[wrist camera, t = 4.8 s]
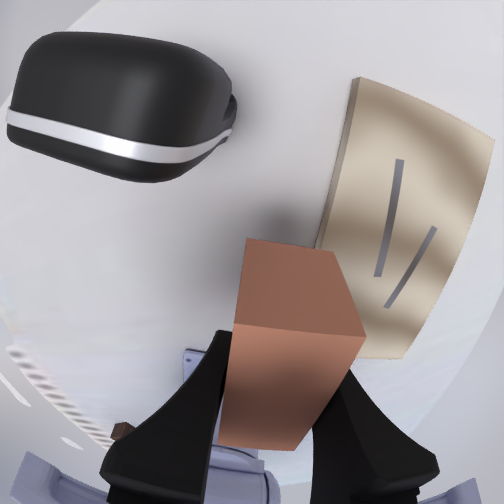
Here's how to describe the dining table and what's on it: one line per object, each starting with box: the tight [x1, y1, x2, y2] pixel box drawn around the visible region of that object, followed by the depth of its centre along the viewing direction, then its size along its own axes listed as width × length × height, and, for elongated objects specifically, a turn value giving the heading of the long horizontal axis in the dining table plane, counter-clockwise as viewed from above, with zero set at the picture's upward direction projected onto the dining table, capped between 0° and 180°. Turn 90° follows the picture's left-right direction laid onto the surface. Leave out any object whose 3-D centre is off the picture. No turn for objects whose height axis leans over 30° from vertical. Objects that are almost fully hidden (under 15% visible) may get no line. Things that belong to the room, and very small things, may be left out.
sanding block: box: [217, 238, 367, 451], centre depth 11 cm, size 8×4×5 cm, turn 172°
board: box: [314, 77, 495, 359], centre depth 18 cm, size 20×11×2 cm, turn 171°
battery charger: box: [6, 32, 237, 183], centre depth 10 cm, size 7×4×11 cm, turn 68°
